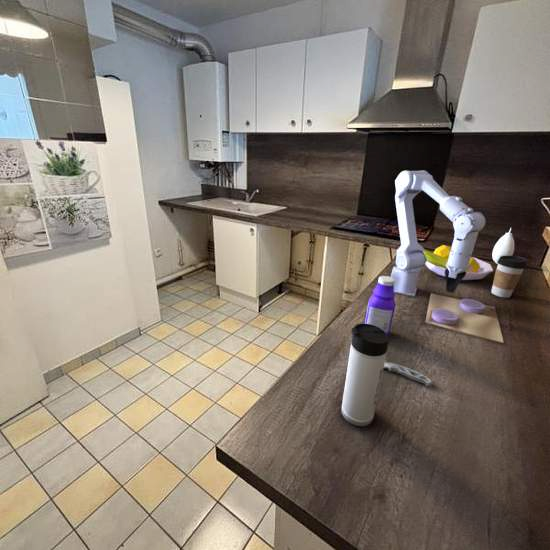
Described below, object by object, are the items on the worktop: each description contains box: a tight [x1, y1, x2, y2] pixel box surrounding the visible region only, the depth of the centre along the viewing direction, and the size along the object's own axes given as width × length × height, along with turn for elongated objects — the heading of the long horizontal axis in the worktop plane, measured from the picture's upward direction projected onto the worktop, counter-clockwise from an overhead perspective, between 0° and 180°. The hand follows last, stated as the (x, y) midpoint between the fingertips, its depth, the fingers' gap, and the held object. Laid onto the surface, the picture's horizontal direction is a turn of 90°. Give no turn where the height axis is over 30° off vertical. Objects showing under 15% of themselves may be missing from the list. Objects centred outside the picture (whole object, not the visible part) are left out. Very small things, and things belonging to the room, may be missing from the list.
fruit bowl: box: [423, 244, 494, 281], centre depth 127 cm, size 28×27×11 cm
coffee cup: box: [490, 255, 528, 299], centre depth 108 cm, size 8×8×15 cm
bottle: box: [364, 275, 397, 336], centre depth 82 cm, size 7×6×17 cm
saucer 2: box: [459, 298, 486, 314], centre depth 99 cm, size 7×7×2 cm
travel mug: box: [340, 323, 390, 427], centre depth 55 cm, size 6×7×20 cm
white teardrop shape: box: [491, 227, 515, 265], centre depth 138 cm, size 8×8×18 cm
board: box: [424, 292, 505, 344], centre depth 96 cm, size 20×24×1 cm
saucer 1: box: [431, 308, 458, 325], centre depth 92 cm, size 7×7×2 cm
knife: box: [384, 359, 433, 387], centre depth 70 cm, size 2×18×3 cm
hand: (449, 291), depth 95 cm, fingers closed
